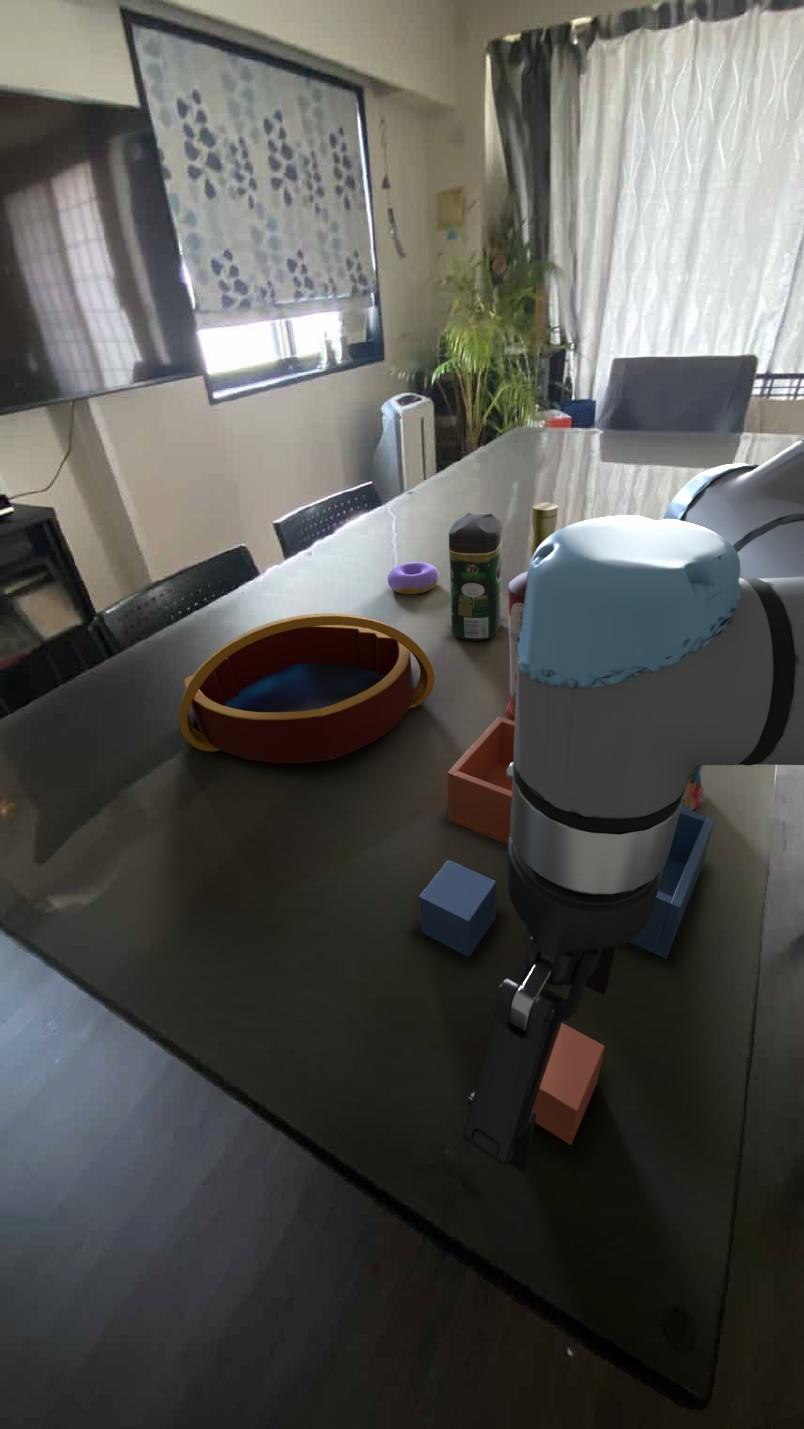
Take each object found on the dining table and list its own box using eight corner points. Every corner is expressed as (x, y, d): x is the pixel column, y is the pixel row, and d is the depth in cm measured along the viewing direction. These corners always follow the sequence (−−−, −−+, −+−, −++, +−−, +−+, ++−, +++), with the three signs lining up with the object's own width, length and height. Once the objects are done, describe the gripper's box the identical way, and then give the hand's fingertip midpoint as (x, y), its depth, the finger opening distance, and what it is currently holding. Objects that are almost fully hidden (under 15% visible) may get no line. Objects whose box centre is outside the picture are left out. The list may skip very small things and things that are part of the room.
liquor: (571, 716, 84) (593, 502, 68) (539, 742, 80) (554, 521, 64) (525, 697, 89) (536, 492, 73) (493, 721, 85) (496, 509, 69)
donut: (420, 570, 128) (421, 548, 124) (447, 593, 122) (450, 571, 119) (377, 583, 124) (378, 561, 120) (403, 608, 118) (405, 586, 115)
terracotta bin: (590, 794, 72) (596, 746, 68) (547, 861, 64) (552, 812, 60) (497, 762, 78) (498, 716, 74) (448, 820, 70) (446, 772, 66)
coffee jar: (458, 614, 111) (455, 507, 100) (503, 617, 109) (506, 508, 98) (446, 641, 103) (442, 528, 93) (495, 644, 101) (497, 530, 91)
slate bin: (700, 869, 62) (715, 818, 58) (666, 959, 55) (680, 907, 51) (585, 826, 68) (592, 777, 64) (539, 901, 60) (544, 851, 56)
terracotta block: (597, 1081, 47) (605, 1045, 44) (570, 1146, 44) (577, 1111, 41) (534, 1045, 49) (537, 1009, 46) (504, 1103, 46) (506, 1068, 43)
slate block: (495, 917, 59) (496, 881, 56) (469, 958, 56) (468, 921, 53) (449, 895, 62) (448, 859, 59) (421, 932, 58) (418, 896, 56)
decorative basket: (413, 664, 103) (402, 571, 96) (464, 747, 77) (455, 629, 70) (199, 703, 98) (172, 609, 92) (178, 806, 72) (139, 686, 66)
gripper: (601, 699, 42) (570, 909, 54) (376, 1003, 25) (404, 1206, 37) (723, 734, 38) (661, 950, 50) (554, 1115, 22) (522, 1300, 34)
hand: (551, 1060), depth 44 cm, fingers open, 13 cm apart
